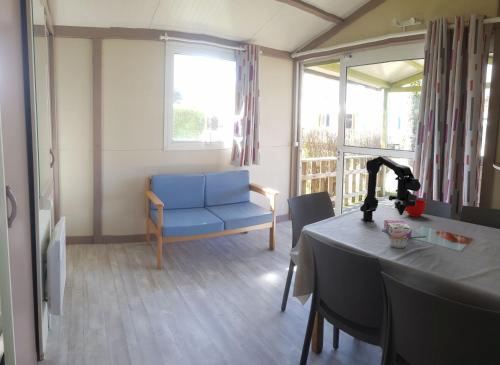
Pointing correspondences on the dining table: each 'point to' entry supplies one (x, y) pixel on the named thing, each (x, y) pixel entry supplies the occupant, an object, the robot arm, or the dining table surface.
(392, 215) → the dining table surface
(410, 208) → the ceramic cup
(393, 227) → the candy bar box
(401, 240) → the cupcake
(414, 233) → the mat
